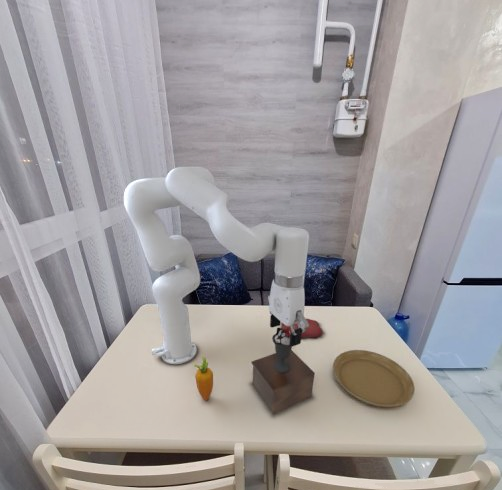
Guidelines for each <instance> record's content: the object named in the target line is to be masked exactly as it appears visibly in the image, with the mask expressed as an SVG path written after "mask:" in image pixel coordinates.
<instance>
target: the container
mask: <svg viewBox="0 0 502 490" xmlns="http://www.w3.org/2000/svg"><path fill="white" fill-rule="evenodd" d="M315 376H316V375H313V376H311V377H309V378H306V379H304V380H302V381H299V382H297V383H294V384H292V385H290V386H287V387H285V388H283V389H280V390H278V391H275V392H272V391H271V389H270V388H269V387H268V385H267V384H266V383H265V381H264V380H263V378H262V377H261V376H260V374H259V373H258V372H257V370H256V369H255V368H254V366H253V365H252V386H253V387H254V389H255V390H256V392H257V393H258V394H259V396H260V398H261V399H262V400H263V401H264V404H265V405H266V406H267V408H268V409H269V411H270V412H271V413H272V415H276V414H278V413H280V412H282V411H284V410H287V409H289V408H290V407H293V406H295V405H297V404H300V403H302V402H304V401H306V400H308V399H310V398H312V396H313V390H314V389H313V388H314V383H315Z"/></svg>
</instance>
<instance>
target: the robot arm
mask: <svg viewBox="0 0 502 490" xmlns="http://www.w3.org/2000/svg"><path fill="white" fill-rule="evenodd" d="M123 205H124V209H125V211H126V213H127V215H128V217H129V219H130V221H131V223H132V224H133V226H134V228H135V230H136V233H137V236H138V240H139V242H140V245H141V248H142V251H143V253H144V257H145V259H146V262H147V264H148V266H149V267H150V269H151V270H153V271H154V272H163V271H167V270H170V269H172V268H175V269H173V270H171V271H169V272H167V273H164V274H162V275H160V276H159V277H157V278H156V279H155V280H154V281H153V283H152V285H151V291H152V295H153V298H154V300H155V304H156V305H157V309H158V315H159V320H160V326H161V332H162V339H163V342H162V345H160V346H159V347H155V348H151V349H150V352H151V354H152V356H154V355H155V356H156V358H158V357H161V359H162V360H163V362H165V363H167V364H171V365H181V364H184V363H188V362H189V361H191V360H192V359H194V357H195V356H196V355H197V353H198V352H197V346H196V344H195V343H194V342H193V341H192V334H191V333H192V332H191V323H190V314H189V308H188V306H187V305H186V304H185V303H184V301H183V298H185V297H186V296H187V295H189V294H190V293H192V292H194V291H195V290H196V289H198V288H199V286H200V284H201V273H200V270H199V267H198V263H197V259H196V255H195V252H194V250H193V246H192V244H191V242H190V241H189V240H188V239H187V238H186V237H184V236H183V235H181V234H173V235H169V233H168V229H167V227H166V226H167V225H166V224H165V222H164V221H163V219H162V218H161V217H160V216H159V215H158V214H157V213H156V211H157V210H162V209H170V208H175V207H179V206H183V205H184V206H185V207H186V208H188V209H189V210H190V211H192V212H193V213H195V214H196V215H197V216H199V217H200V218H202V219H203V220H204V221H206V222H207V224H208V225H209V229H210V230H211V233H212V234H213V236H214V238H215V239H216V240H217V242H218V243H219V244H220V245H221V246H223V247H224V248H225V249H226V250H228V251H229V252H230V253H232V254H233V255H234V256H236V257H237V258H239V259H241V260H243V261H245V262H250V263H255V262H259V261H261V260H263V259H264V258H266V256H268V255H271V254H273V253H275V255H274V272H273V279H272V281H271V287H270V292H269V295H268V296H267V300H268V310H269V314H270V319H269V327H270V328H275V327H276V328H277V327H279V326H281V324H282V323H283V324H284V325H286V326H290V327H291V330H292V333H291V334H290V344H289V345H290V346H291V347H296V346H298V345H300V344H301V343H302V338H301V335H302V333H303V332H305V331H306V330H307V329H308V327H309V324H308V322H307V320H306V319H307V318H306V317H305V316H304V315H305V303H306V302H305V301H306V299H305V298H306V297H305V295H306V294H305V278H306V269H307V261H308V260H307V259H308V252H309V242H310V241H309V240H310V234H309V231H307V229H304V228H302V227H296V226H288V227H287V226H283V225H279V224H277V223H274V222H262V223H259V224H256V225H254V226H251V227H248V226H247V225H245V224H244V223H243V222H241V221H240V220H238V219H237V218H236V217H234V216H233V215H232V214H231V213H230V211H229V210H228V209H229V206H230V197H229V195H228V194H227V193H226V192H225V191H223V190H222V189H220V188H219V187H217V186H216V181H215V178H214V175H213V174H212V172H211V171H210V170H209V169H207V168H205V167H203V166H192V165H191V166H189V165H188V166H183V165H182V166H177V167H174V168H173V169H170V171H169V172H168V173H167V175H166V177H147V178H140V179H137V180H134V181H132V182H130V183H129V184H128V185H127V187H126V188H125V190H124V194H123ZM295 320H296V322H294V321H295ZM294 324H297V325H298V329H295V326H294Z"/></svg>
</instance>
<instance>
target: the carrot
mask: <svg viewBox="0 0 502 490" xmlns="http://www.w3.org/2000/svg"><path fill="white" fill-rule="evenodd" d="M201 358H202V359H201V360H202V362H201V365H198V364H193V366H194V367H196V368H198V369H197V370H196V373H195V376H194V378H195V384H196V388H197V390H198V393H199V395H200V396H201V398H202V399H203V400H204V401H206V402H207V401H209V399H210V398H211V395H212V393H213V388H214V387H213V386H214V372H213V371H212V369H211V368H210V367H208V366H209V362H208V361H207V359H206V357H201Z"/></svg>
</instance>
